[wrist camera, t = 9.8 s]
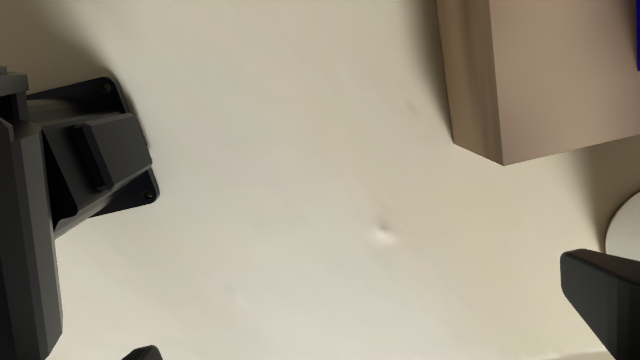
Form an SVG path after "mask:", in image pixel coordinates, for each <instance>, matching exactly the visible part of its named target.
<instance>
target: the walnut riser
mask: <svg viewBox="0 0 640 360" xmlns="http://www.w3.org/2000/svg"><path fill="white" fill-rule="evenodd" d="M436 7H437V15H438V23H439V31H440V39H441V47H442V54H443V62H444V70H445V78H446V86H447V94H448V102H449V110H450V118H451V126H452V133H453V141H454V144H456V145H458V146H460V147H463V148H465V149H467V150H469V151H471V152H474V153H476V154H478V155H480V156H483V157H485V158H487V159H489V160H491V161H494V162H496V163H498V164H500V165H503V166H506V165H510V164H514V163H519V162H523V161H527V160H531V159H536V158H540V157H544V156H549V155H553V154H557V153H562V152H566V151H570V150H575V149H579V148H583V147H587V146H592V145H596V144H600V143H605V142H609V141H613V140H618V139H622V138H626V137H630V136H635V135H639V134H640V71H638V68H637V22H636V0H436Z"/></svg>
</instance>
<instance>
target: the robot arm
mask: <svg viewBox="0 0 640 360" xmlns="http://www.w3.org/2000/svg"><path fill="white" fill-rule="evenodd" d="M105 83H108V84H109V85H110V86H111V91H110V92H109V93H108V92H107V91H106V90H105V88H104V86H105ZM28 90H29V87H28V79H27V74H24V73H14V72H7V67H6V66H0V360H45V359H46V358H47V357H48V356H49V354H50V353H51V351H52V349H53V348H54V346H55V344H56V343H57V341H58V339H59V337H60V336H61V334H62V327H63V311H62V302H61V294H60V285H59V276H58V268H57V259H56V250H55V242H54V240H55V239H57V238H58V237H60V236H61V235H63V234H64V233H66V232H67V231H69V230H70V229H72V228H73V227H75V226H76V225H78V224H79V223H81V222H83V221H84V220H86V219H87V218H91V217H95V216H100V215H104V214H108V213H112V212H117V211H121V210H125V209H129V208H134V207H138V206H142V205H146V204H151V203H153V202H154V201H156V200H157V199H158V197H159V195H160V192H159V188H158V185H157V183H156V180H155V178H154V175H153V172H152V170H151V165H152V159H151V156H150V154H149V151H148V148H147V146H146V143H145V140H144V138H143V135H142V132H141V130H140V127H139V124H138V122H137V119H136V117H135V116H134V115H132V114H131V113H130V111H129V109H128V106H127V103H126V101H125V98H124V95H123V93H122V90H121V87H120V85H119V83H118V81H116V80H115V79H114V78H111V77H100V78H96V79H92V80H88V81H84V82H79V83H75V84H71V85H67V86H63V87H59V88H55V89H51V90H47V91H43V92H38V93H34V94H30V95H26V91H28ZM145 190H149V191H150V192H151V193H152V197H149V196H147V195H146V194H145ZM560 273H561V287H562V291H563V293H564V295H565V297H566V298H567V299H568V301H569V302H570V303H571V304H572V306H573V307H574V308H575V310H576V311H577V312H578V313H579V315H580V316H581V317H582V318H583V320H584V321H585V322H586V323H587V325H588V326H589V327H590V328H591V330H592V331H593V332H594V333H595V335H596V336H597V337H598V339H599V340H600V341H601V342H602V344H603V345H604V346H605V347H606V349H607V350H608V351H609V352H610V353H611V355H612V356H613V357H614V358H615V359H616V360H640V261H637V260H632V259H628V258H623V257H619V256H614V255H610V254H605V253H601V252H596V251H592V250H587V249H576V250H572V251H567V252H564V253H563V254H562V255H561V257H560ZM122 360H163V359H162V356H161V354H160V352H159V350H158V348H157V347H156V346H154V345H149V346H145V347H140V348H137V349H134V350H133V351H132V352H130V353H129V354H128V355H127V356H125V357H124V358H123V359H122Z"/></svg>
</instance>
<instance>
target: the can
mask: <svg viewBox="0 0 640 360" xmlns="http://www.w3.org/2000/svg"><path fill="white" fill-rule="evenodd" d="M605 247H606V254H610V255H614V256H619V257H623V258H628V259H632V260H637V261H640V192H638V193H636V194H635V195H633V196H632V197H630V198H629V199H628V200H627V201H625V202H624V203H623V204H622V205H621V206H620V208H619V209H618V210H617V211H616V213H615V214H614V216H613V217H612V219H611V221H610V223H609V225H608V228H607V232H606V237H605Z"/></svg>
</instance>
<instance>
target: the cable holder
mask: <svg viewBox="0 0 640 360" xmlns="http://www.w3.org/2000/svg"><path fill="white" fill-rule="evenodd" d="M636 22H637V68H638V71H640V0H636Z"/></svg>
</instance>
